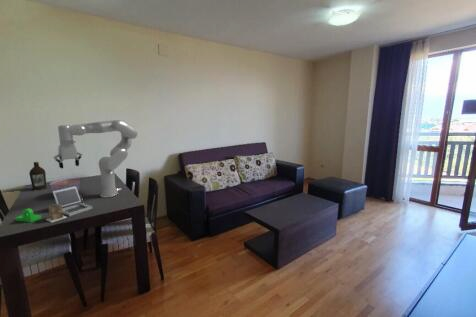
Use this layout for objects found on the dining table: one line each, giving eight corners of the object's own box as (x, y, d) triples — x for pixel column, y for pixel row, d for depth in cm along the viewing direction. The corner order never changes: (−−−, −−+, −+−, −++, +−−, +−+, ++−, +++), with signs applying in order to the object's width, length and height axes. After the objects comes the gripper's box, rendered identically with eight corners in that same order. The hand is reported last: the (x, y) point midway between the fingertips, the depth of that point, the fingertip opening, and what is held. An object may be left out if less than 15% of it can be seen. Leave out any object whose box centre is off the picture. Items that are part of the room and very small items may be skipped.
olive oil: (31, 189, 200) (27, 162, 196) (47, 187, 208) (43, 160, 204) (32, 192, 193) (27, 163, 189) (48, 189, 200) (44, 162, 196)
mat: (61, 215, 145) (61, 214, 145) (66, 217, 142) (66, 216, 142) (46, 220, 138) (46, 219, 138) (51, 222, 135) (51, 221, 135)
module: (59, 215, 144) (57, 202, 142) (63, 217, 141) (61, 204, 140) (50, 218, 139) (48, 205, 138) (53, 220, 137) (51, 206, 135)
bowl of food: (87, 192, 193) (86, 179, 191) (66, 200, 174) (64, 185, 172) (67, 191, 196) (65, 178, 194) (44, 198, 177) (42, 184, 175)
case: (79, 203, 167) (77, 185, 165) (94, 208, 158) (92, 189, 155) (55, 210, 154) (52, 191, 151) (69, 216, 144) (67, 195, 142)
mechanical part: (41, 218, 142) (39, 206, 140) (31, 222, 136) (29, 209, 134) (26, 216, 144) (24, 204, 142) (15, 220, 138) (13, 208, 137)
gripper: (77, 141, 166) (80, 164, 169) (49, 143, 151) (52, 168, 154) (83, 142, 162) (85, 165, 165) (54, 144, 148) (57, 169, 150)
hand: (69, 166), depth 160 cm, fingers open, 9 cm apart
